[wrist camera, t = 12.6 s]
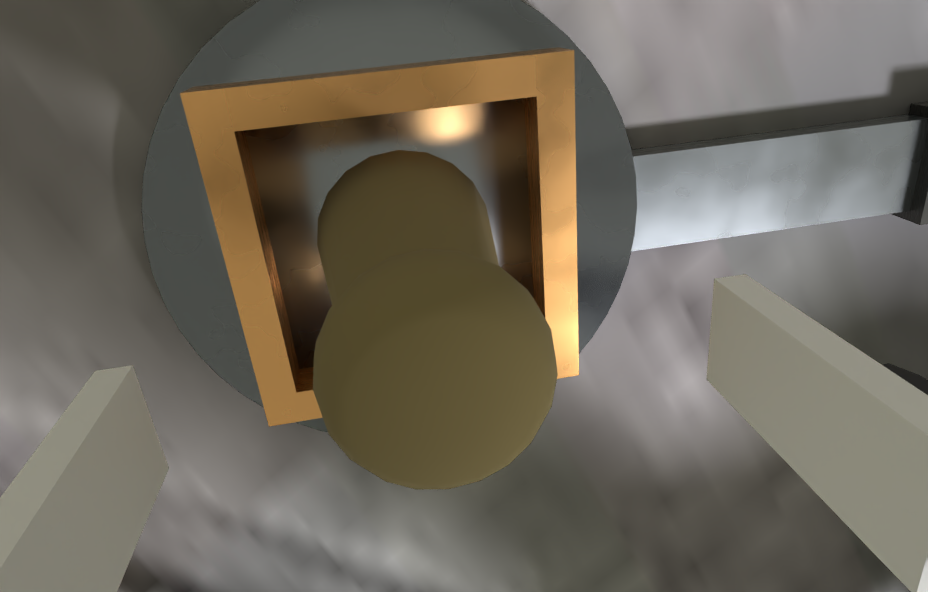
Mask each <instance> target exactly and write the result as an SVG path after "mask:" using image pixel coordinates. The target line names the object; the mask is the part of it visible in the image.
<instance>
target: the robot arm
mask: <svg viewBox="0 0 928 592" xmlns="http://www.w3.org/2000/svg"><path fill="white" fill-rule="evenodd" d="M707 380H708V381H709V382H710V383H711V385H712V386H713V387H714V388H715V389H716V390H717V391H718V392H719V393H720V394H721V395H722V396H723V397H724V398H725V399H726V400H727V401H728V402H729V403H730V404H731V405H732V406H733V407H734V408H735V409H736V411H737V412H738V413H739V414H740V415H741V416H742V417H743V418H744V419H745V420H746V421H747V422H748V423H749V424H750V425H751V426H752V427H753V428H754V429H755V430H756V431H757V432H758V433H759V434H760V435H761V437H762V438H763V439H764V440H765V441H766V442H767V443H768V444H769V445H770V446H771V447H772V448H773V449H774V450H775V451H776V452H777V453H778V454H779V455H780V456H781V457H782V458H783V459H784V460H785V461H786V462H787V464H788V465H789V466H790V467H791V468H792V469H793V470H794V471H795V472H796V473H797V474H798V475H799V476H800V477H801V478H802V479H803V480H804V481H805V482H806V483H807V484H808V485H809V486H810V487H811V488H812V490H813V491H814V492H815V493H816V494H817V495H818V496H819V497H820V498H821V499H822V500H823V501H824V502H825V503H826V504H827V505H828V506H829V507H830V508H831V509H832V510H833V511H834V512H835V513H836V514H837V516H838V517H839V518H840V519H841V520H842V521H843V522H844V523H845V524H846V525H847V526H848V527H849V528H850V529H851V530H852V531H853V532H854V533H855V534H856V535H857V536H858V537H859V538H860V539H861V540H862V542H863V543H864V544H865V545H866V546H867V547H868V548H869V549H870V550H871V551H872V552H873V553H874V554H875V555H876V556H877V557H878V558H879V559H880V560H881V561H882V562H883V563H884V564H885V565H886V566H887V567H888V569H889V570H890V571H891V572H892V573H893V574H894V575H895V576H896V577H897V578H898V579H899V580H900V581H901V582H902V583H903V584H904V585H905V586H906V587H907V588H908V589H909V590H910V591H911V592H928V380H926V379H925V378H923V377H922V376H920V375H917V374H915V373H912V372H910V371H907V370H904V369H902V368H899V367H897V366H894V365H891V364H883V365H881V364H880V363H878V362H877V361H875V360H874V359H872V358H871V357H869V356H868V355H866V354H865V353H863V352H862V351H860V350H859V349H857V348H856V347H854V346H853V345H851V344H850V343H848V342H847V341H845V340H844V339H842V338H841V337H839V336H838V335H836V334H835V333H833V332H832V331H830V330H829V329H827V328H826V327H824V326H822V325H821V324H819V323H818V322H816V321H815V320H813V319H812V318H810V317H809V316H807V315H806V314H804V313H803V312H801V311H800V310H798V309H797V308H795V307H794V306H792V305H791V304H789V303H788V302H786V301H785V300H783V299H782V298H780V297H779V296H777V295H776V294H774V293H773V292H771V291H770V290H768V289H767V288H765V287H764V286H762V285H761V284H759V283H758V282H756V281H755V280H753V279H752V278H750V277H749V276H747V275H746V274H743V275H737V276H730V277H723V278H716V279H714V290H713V303H712V316H711V329H710V342H709V355H708V367H707ZM168 469H169V467H168V464H167V461H166V458H165V455H164V453H163V450H162V447H161V444H160V441H159V438H158V436H157V433H156V430H155V427H154V424H153V421H152V419H151V416H150V413H149V410H148V407H147V404H146V402H145V399H144V396H143V393H142V390H141V387H140V385H139V382H138V379H137V376H136V373H135V370H134V368H133V365H131V366H125V367H118V368H111V369H105V370H98V371H95V372H94V373H93V375H92V376H91V377H90V379H89V380H88V381H87V383H86V384H85V385H84V387H83V388H82V389H81V391H80V392H79V393H78V395H77V396H76V397H75V399H74V400H73V401H72V403H71V404H70V405H69V407H68V408H67V409H66V411H65V412H64V413H63V415H62V416H61V417H60V419H59V420H58V421H57V423H56V424H55V425H54V427H53V428H52V429H51V431H50V432H49V433H48V435H47V436H46V437H45V439H44V440H43V441H42V443H41V444H40V445H39V447H38V448H37V449H36V451H35V452H34V453H33V455H32V456H31V457H30V459H29V460H28V461H27V463H26V464H25V465H24V467H23V468H22V469H21V471H20V472H19V473H18V475H17V476H16V478H15V479H14V480H13V482H12V483H11V484H10V486H9V487H8V488H7V490H6V491H5V492H4V494H3V495H2V496H1V498H0V592H117V590H118V588H119V585H120V583H121V581H122V578H123V576H124V574H125V571H126V569H127V566H128V564H129V562H130V559H131V557H132V555H133V552H134V550H135V547H136V545H137V543H138V540H139V538H140V536H141V533H142V531H143V529H144V526H145V524H146V521H147V519H148V517H149V514H150V512H151V510H152V507H153V505H154V503H155V500H156V498H157V495H158V493H159V491H160V488H161V486H162V484H163V481H164V479H165V477H166V474H167V472H168Z"/></svg>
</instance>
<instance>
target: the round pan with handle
mask: <svg viewBox="0 0 928 592" xmlns="http://www.w3.org/2000/svg"><path fill="white" fill-rule="evenodd" d="M395 150H406V151H417V152H427V153H429V154H432V155H434V156H436V157H439V158H441V159H443V160H446V161H448V162H450V163H453V164H454V165H455V166H456V167H457V168H458V169H459V170H460V171H462V172H463V173H464V174H465V175H466V176H467V177H468V178H469V179H470V180H472V181H473V183H474V185H475V186H476V188H477V190H478V192H479V193H480V195H481V197H482V199H483V200H484V202H485V204H486V208H487V212H488V217H489V221H490V226H491V231H492V235H493V240H494V245H495V249H496V254H497V258H498V263H499V266H500V267H501V268H503V269H504V270H505V271H506V272H507V273H508V274H510V275H511V276H512V277H513V278H514V279H516V280H517V281H518V282H519V283H520V284H522V285H523V286H524V287H525V288H526V289H527V290H528V291H529V293H530V294H531V296H532V297H533V298H534V300H535V302H536V303H537V305H538V307H539V309H540V310H541V312H542V314H543V316H544V317H545V319H546V321H547V323H548V325H549V326H550V328H551V331H552V338H553V344H554V350H555V357H556V364H557V373H558V376H557V379H559V378H565V377H571V376H577V375H579V353H580V352H581V350H582V349H583V348H584V347H585V346H586V344H587V343H588V342H589V341H590V339H591V338H592V337H593V335H594V334H595V332H596V331H597V329H598V328H599V326H600V324H601V323H602V321H603V320H604V318H605V317H606V315H607V313H608V311H609V309H610V307H611V305H612V303H613V301H614V299H615V297H616V295H617V293H618V291H619V289H620V286H621V283H622V280H623V277H624V274H625V272H626V269H627V266H628V263H629V258H630V254H631V251H637V250H644V249H651V248H658V247H665V246H672V245H679V244H685V243H692V242H699V241H706V240H713V239H720V238H727V237H734V236H740V235H747V234H754V233H761V232H768V231H775V230H782V229H789V228H795V227H802V226H809V225H816V224H823V223H830V222H837V221H844V220H851V219H857V218H864V217H871V216H878V215H885V214H893V215H895V216H898V217H900V218H903V219H906V220H908V221H911V222H914V223H916V224H919V225H923V224H928V102H922V103H914V104H911V107H910V112H909V114H908V115H901V116H893V117H885V118H877V119H869V120H861V121H854V122H846V123H838V124H830V125H822V126H814V127H807V128H799V129H791V130H783V131H775V132H767V133H760V134H752V135H744V136H736V137H728V138H720V139H713V140H705V141H697V142H689V143H681V144H673V145H665V146H658V147H650V148H642V149H634V150H631V146H630V143H629V139H628V136H627V133H626V130H625V127H624V124H623V120H622V117H621V115H620V113H619V111H618V109H617V107H616V105H615V102H614V100H613V98H612V96H611V94H610V92H609V90H608V88H607V86H606V85H605V83H604V82H603V80H602V79H601V77H600V76H599V74H598V73H597V71H596V70H595V68H594V67H593V65H592V64H591V62H590V61H589V60H588V58H587V57H586V56H585V55H584V54H583V53H582V52H581V50H580V49H579V48H578V47H577V46H576V45H575V44H574V43H573V41H572V40H571V39H570V38H569V37H568V36H567V35H566V34H565V33H564V32H563V31H561V30H560V29H559V28H558V27H557V26H555V25H554V24H553V23H552V22H551V21H550V20H548V19H547V18H546V17H545V16H544V15H543V14H541V13H540V12H538V11H537V10H535V9H534V8H532V7H530V6H529V5H527V4H526V3H524V2H522V1H521V0H260V1H258V2H257V3H255V4H254V5H253V6H251V7H250V8H248V9H247V10H245V11H244V12H243V13H241V14H240V15H238V16H237V17H235V18H234V19H233V20H231V21H230V22H228V23H227V24H226V25H225V26H224V27H223V28H222V29H221V30H220V31H219V32H218V33H217V34H216V35H215V36H214V37H213V38H212V39H211V40H210V41H209V42H208V43H207V44H205V45H204V46H203V47H202V48H201V50H200V51H199V52H198V54H197V55H196V56H195V58H194V59H193V60H192V61H191V63H190V64H189V65H188V67H187V68H186V69H185V71H184V72H183V73H182V74H181V76H180V77H179V79H178V81H177V82H176V84H175V86H174V88H173V90H172V92H171V93H170V95H169V97H168V99H167V101H166V103H165V104H164V106H163V108H162V110H161V113H160V116H159V119H158V121H157V124H156V127H155V130H154V132H153V135H152V138H151V141H150V144H149V149H148V154H147V159H146V164H145V169H144V174H143V190H142V219H143V229H144V239H145V245H146V249H147V253H148V257H149V261H150V265H151V270H152V274H153V276H154V279H155V281H156V284H157V286H158V289H159V291H160V294H161V296H162V299H163V301H164V303H165V305H166V307H167V309H168V310H169V312H170V314H171V316H172V317H173V319H174V321H175V323H176V325H177V326H178V328H179V330H180V331H181V332H182V334H183V335H184V336H185V338H186V339H187V340H188V342H189V343H190V344H191V346H192V347H193V348H194V350H195V351H196V352H197V354H198V355H199V356H200V357H201V358H202V359H203V360H204V361H205V362H206V363H207V364H208V365H209V366H210V367H211V368H212V369H213V370H214V371H215V372H216V373H217V374H218V375H219V376H220V377H221V378H222V379H224V380H225V381H226V382H228V383H229V384H230V385H231V386H233V387H234V388H235V389H236V390H238V391H239V392H240V393H241V394H243V395H244V396H246V397H248V398H249V399H251V400H253V401H254V402H256V403H257V404H259V405H261V406H262V407H264V410H265V414H266V417H267V421H268V425H269V426H275V425H281V424H287V423H293V422H296V423H299V424H302V425H305V426H308V427H311V428H314V429H317V430H320V431H324V432H328V430H327V428H326V425H325V422H324V420H323V417H322V414H321V411H320V408H319V406H318V403H317V400H316V397H315V394H314V391H313V369H314V351H315V345H316V340H317V338H318V336H319V333H320V331H321V328H322V326H323V323H324V321H325V318H326V316H327V314H328V311H329V309H330V308H331V306H332V303H331V299H330V295H329V291H328V287H327V283H326V279H325V275H324V271H323V267H322V263H321V259H320V255H319V251H318V247H317V230H318V217H319V214H320V211H321V209H322V206H323V204H324V201H325V198H326V196H327V193H328V192H329V191H330V189H331V188H332V187H333V186H334V185H335V183H336V182H337V181H338V180H339V179H340V177H341V176H342V175H343V174H344V173H345V171H347V170H349V169H350V168H352V167H354V166H355V165H357V164H358V163H360V162H362V161H363V160H365V159H367V158H368V157H370V156H374V155H378V154H382V153H387V152H391V151H395Z"/></svg>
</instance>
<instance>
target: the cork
mask: <svg viewBox="0 0 928 592" xmlns="http://www.w3.org/2000/svg"><path fill="white" fill-rule="evenodd" d="M317 247H318V251H319V255H320V259H321V263H322V267H323V271H324V275H325V279H326V283H327V287H328V291H329V295H330V299H331V303H332V306H331V308H330V309H329V311H328V314H327V316H326V318H325V321H324V323H323V326H322V328H321V331H320V333H319V336H318V338H317V340H316V345H315V351H314V369H313V391H314V394H315V397H316V400H317V403H318V406H319V408H320V411H321V414H322V417H323V420H324V422H325V425H326V428H327V430H328V433H329V435H330V436H331V437H332V438H333V440H334V441H335V442H336V443H337V444H338V446H339V447H340V448H341V449H342V450H343V452H344V453H345V454H346V455H347V456H348V458H349V459H350V460H352V461H354V462H355V463H357V464H358V465H360V466H361V467H363V468H365V469H366V470H368V471H370V472H371V473H373V474H375V475H376V476H378V477H380V478H381V479H383V480H385V481H386V482H390V483H394V484H398V485H401V486H405V487H409V488H413V489H451V488H455V487H459V486H463V485H466V484H470V483H474V482H478V481H481V480H483V479H484V478H486V477H488V476H490V475H492V474H493V473H495V472H497V471H499V470H500V469H502V468H504V467H506V466H508V465H509V464H510V463H511V462H512V461H513V460H514V459H515V458H516V457H517V456H518V455H519V454H520V453H521V452H522V451H523V450H524V449H525V448H526V447H527V446H528V445H530V444H531V442H532V440H533V438H534V437H535V435H536V433H537V431H538V430H539V428H540V426H541V424H542V423H543V421H544V419H545V417H546V415H547V414H548V412H549V410H550V408H551V407H552V401H553V396H554V391H555V386H556V381H557V376H558V373H557V364H556V357H555V350H554V344H553V338H552V331H551V328H550V326H549V325H548V323H547V321H546V319H545V317H544V316H543V314H542V312H541V310H540V309H539V307H538V305H537V303H536V302H535V300H534V298H533V297H532V296H531V294H530V293H529V291H528V290H527V289H526V288H525V287H524V286H523V285H522V284H520V283H519V282H518V281H517V280H516V279H514V278H513V277H512V276H511V275H510V274H508V273H507V272H506V271H505V270H504V269H503V268H501V267H500V266H499V263H498V258H497V254H496V249H495V245H494V240H493V235H492V231H491V226H490V221H489V217H488V212H487V208H486V204H485V202H484V200H483V199H482V197H481V195H480V193H479V192H478V190H477V188H476V186H475V185H474V183H473V181H472V180H470V179H469V178H468V177H467V176H466V175H465V174H464V173H463V172H462V171H460V170H459V169H458V168H457V167H456V166H455V165H454V164H453V163H450V162H448V161H446V160H443V159H441V158H439V157H436V156H434V155H432V154H429V153H427V152H417V151H406V150H395V151H391V152H387V153H382V154H378V155H374V156H370V157H368V158H367V159H365V160H363V161H362V162H360V163H358V164H357V165H355V166H354V167H352V168H350V169H349V170H347V171H345V173H344V174H343V175H342V176H341V177H340V179H339V180H338V181H337V182H336V183H335V185H334V186H333V187H332V188H331V189H330V191H329V192H328V193H327V196H326V198H325V201H324V204H323V206H322V209H321V211H320V214H319V217H318V230H317Z"/></svg>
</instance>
